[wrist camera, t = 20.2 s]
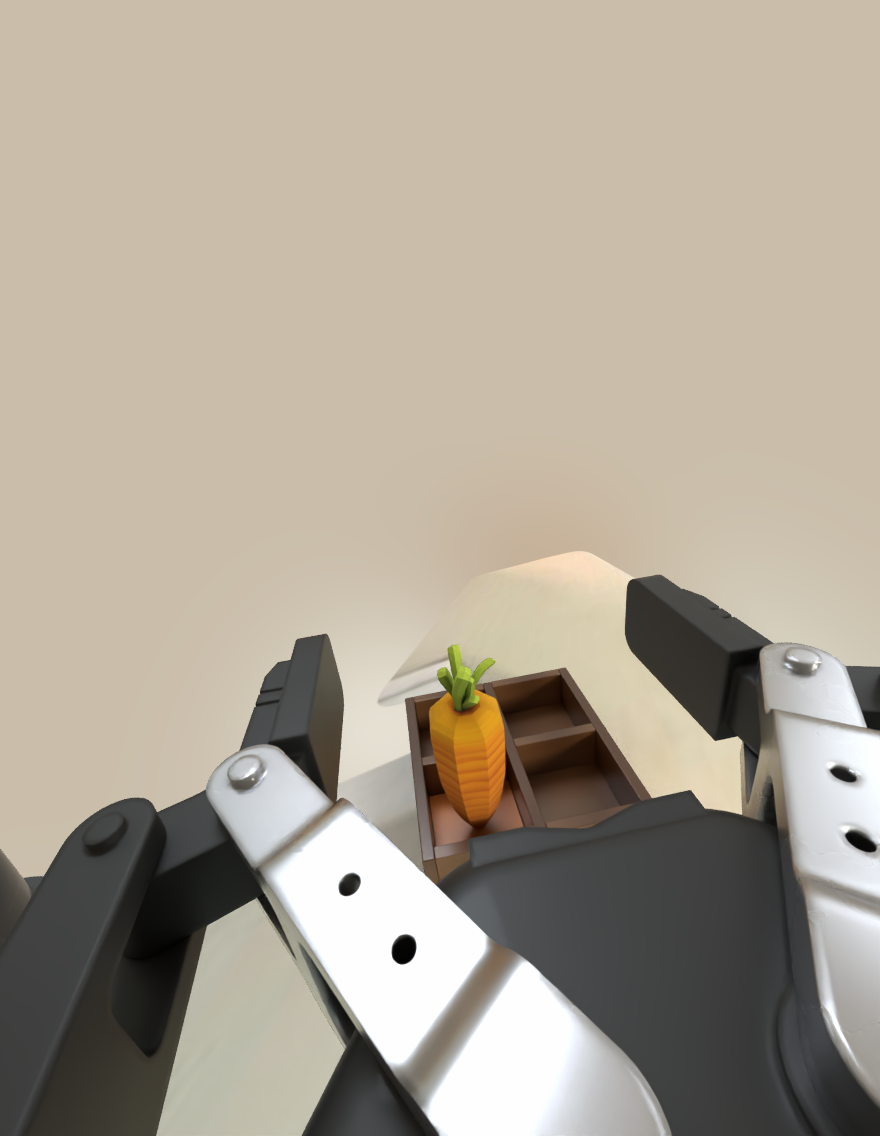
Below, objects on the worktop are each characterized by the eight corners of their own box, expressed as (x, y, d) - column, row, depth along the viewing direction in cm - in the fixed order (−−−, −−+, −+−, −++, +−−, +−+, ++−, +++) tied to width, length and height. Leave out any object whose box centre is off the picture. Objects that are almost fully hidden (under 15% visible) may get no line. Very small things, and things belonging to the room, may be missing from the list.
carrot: (456, 791, 36) (431, 630, 30) (519, 803, 34) (506, 636, 28) (435, 851, 32) (402, 678, 26) (506, 868, 30) (488, 688, 24)
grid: (431, 902, 30) (422, 861, 28) (411, 731, 44) (404, 698, 42) (655, 850, 31) (659, 809, 29) (566, 701, 45) (565, 667, 43)
